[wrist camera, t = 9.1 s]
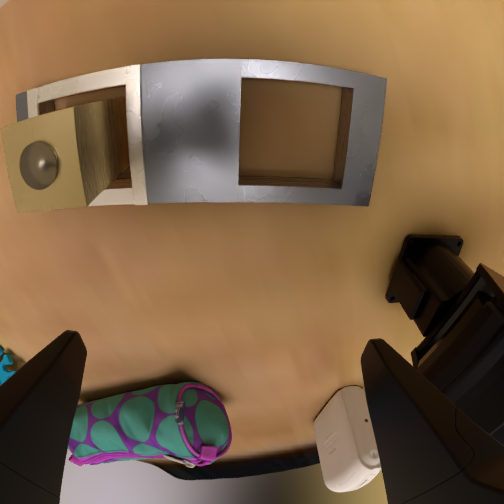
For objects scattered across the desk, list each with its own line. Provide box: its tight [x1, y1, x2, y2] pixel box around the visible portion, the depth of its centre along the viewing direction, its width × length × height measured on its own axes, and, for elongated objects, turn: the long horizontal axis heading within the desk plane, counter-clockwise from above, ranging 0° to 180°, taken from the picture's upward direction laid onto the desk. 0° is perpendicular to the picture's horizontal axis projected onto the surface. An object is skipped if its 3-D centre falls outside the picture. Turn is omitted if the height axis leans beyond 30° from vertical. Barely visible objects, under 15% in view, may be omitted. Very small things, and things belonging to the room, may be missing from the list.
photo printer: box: [314, 386, 381, 492], centre depth 29 cm, size 10×4×12 cm, turn 169°
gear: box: [0, 347, 18, 385], centre depth 26 cm, size 11×6×10 cm
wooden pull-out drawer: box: [1, 97, 130, 213], centre depth 13 cm, size 4×4×7 cm
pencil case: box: [68, 382, 232, 468], centre depth 27 cm, size 21×9×10 cm, turn 116°
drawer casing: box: [16, 59, 387, 211], centre depth 15 cm, size 22×8×2 cm, turn 88°
